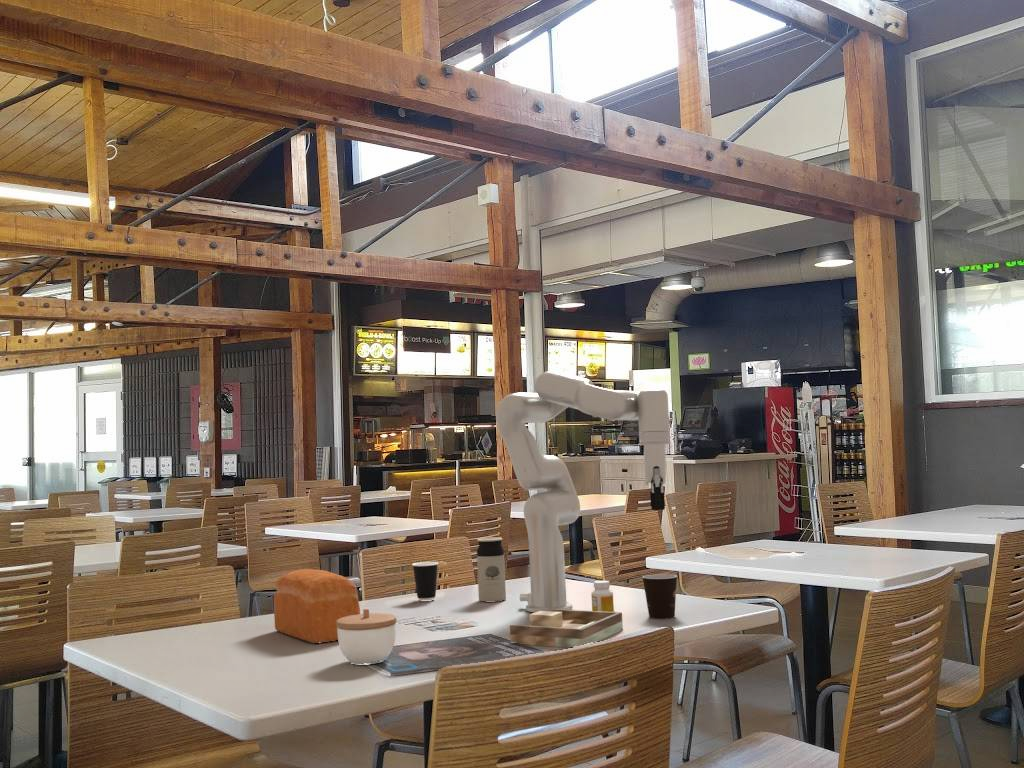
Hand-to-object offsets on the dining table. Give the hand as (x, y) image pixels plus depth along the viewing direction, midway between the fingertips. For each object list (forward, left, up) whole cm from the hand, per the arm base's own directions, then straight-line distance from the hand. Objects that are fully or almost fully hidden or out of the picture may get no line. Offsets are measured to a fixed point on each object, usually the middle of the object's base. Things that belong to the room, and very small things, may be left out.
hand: (657, 508), depth 230 cm
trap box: (-15, -23, -28) cm, 39 cm away
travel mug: (-60, +18, -28) cm, 68 cm away
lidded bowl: (-44, -60, -28) cm, 80 cm away
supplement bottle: (-15, -3, -28) cm, 32 cm away
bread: (-77, -39, -28) cm, 91 cm away
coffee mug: (-3, +8, -28) cm, 29 cm away
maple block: (-20, -23, -26) cm, 40 cm away
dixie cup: (-80, +13, -28) cm, 85 cm away
